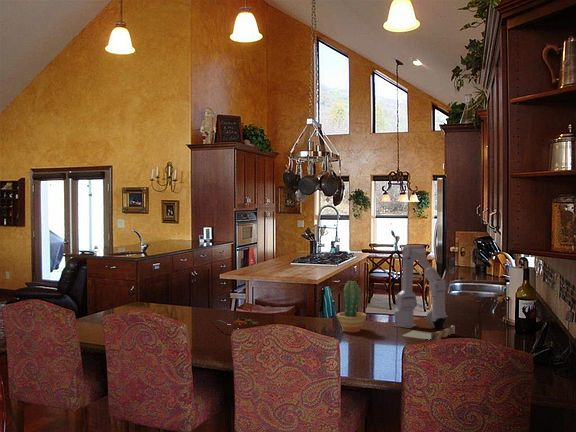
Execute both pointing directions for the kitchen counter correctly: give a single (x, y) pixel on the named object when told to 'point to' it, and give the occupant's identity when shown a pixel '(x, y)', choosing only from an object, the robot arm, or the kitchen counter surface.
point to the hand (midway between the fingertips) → (438, 333)
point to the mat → (418, 334)
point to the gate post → (453, 329)
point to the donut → (430, 319)
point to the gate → (442, 333)
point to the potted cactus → (351, 308)
